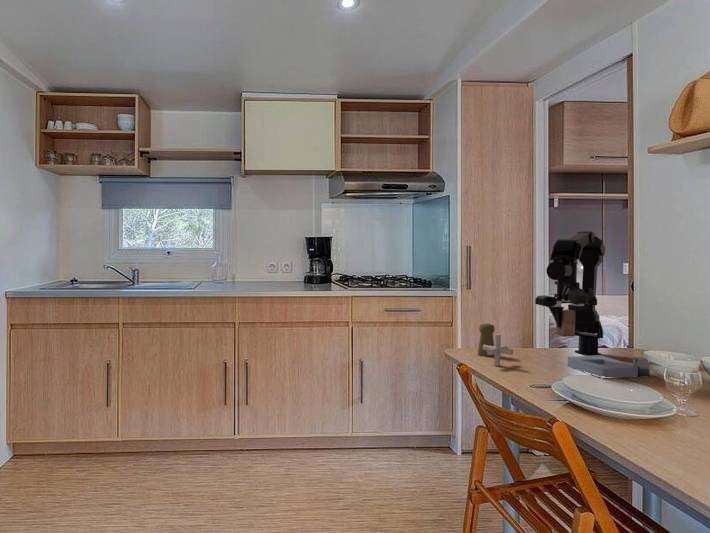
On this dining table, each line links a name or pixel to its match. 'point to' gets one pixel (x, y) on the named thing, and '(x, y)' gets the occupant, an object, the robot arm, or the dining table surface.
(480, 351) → the dark green pepper mill
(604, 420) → the dining table surface
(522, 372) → the dining table surface
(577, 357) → the bore block
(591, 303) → the robot arm
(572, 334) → the square peg
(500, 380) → the dining table surface
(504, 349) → the pipe connector
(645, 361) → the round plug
